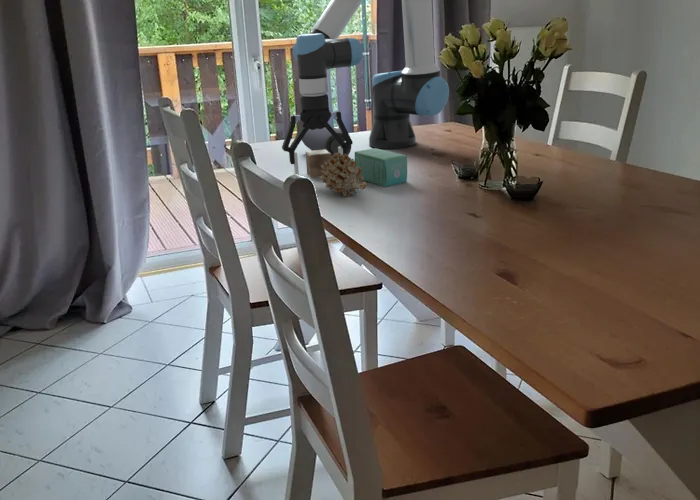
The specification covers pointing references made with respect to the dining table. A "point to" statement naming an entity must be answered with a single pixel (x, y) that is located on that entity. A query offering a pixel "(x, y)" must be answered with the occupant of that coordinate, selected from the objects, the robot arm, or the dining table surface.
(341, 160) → the pine cone
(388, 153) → the box
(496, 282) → the dining table surface
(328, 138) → the bluetooth speaker
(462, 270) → the dining table surface
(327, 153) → the walnut cube
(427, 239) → the dining table surface
